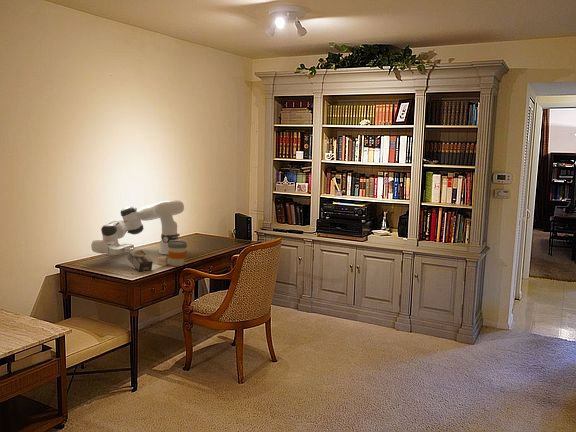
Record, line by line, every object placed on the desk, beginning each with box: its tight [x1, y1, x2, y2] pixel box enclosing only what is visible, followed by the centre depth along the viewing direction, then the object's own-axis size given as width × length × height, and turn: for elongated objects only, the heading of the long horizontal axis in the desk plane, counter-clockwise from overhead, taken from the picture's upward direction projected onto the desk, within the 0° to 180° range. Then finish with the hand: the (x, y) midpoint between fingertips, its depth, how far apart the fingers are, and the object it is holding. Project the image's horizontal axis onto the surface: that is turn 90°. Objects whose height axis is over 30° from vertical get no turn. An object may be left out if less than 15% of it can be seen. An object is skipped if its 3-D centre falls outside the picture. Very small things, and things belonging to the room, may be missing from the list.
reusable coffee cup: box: [167, 240, 188, 267], centre depth 351 cm, size 13×13×15 cm
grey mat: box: [132, 263, 164, 271], centre depth 342 cm, size 14×14×1 cm
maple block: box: [157, 256, 168, 266], centre depth 351 cm, size 5×5×5 cm
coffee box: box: [127, 249, 153, 273], centre depth 335 cm, size 9×6×16 cm
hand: (132, 249), depth 343 cm, fingers closed
